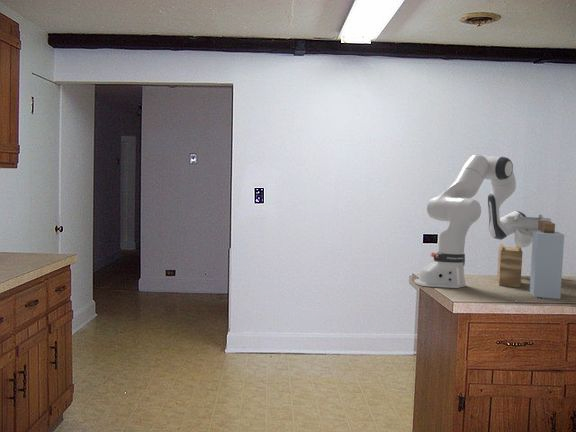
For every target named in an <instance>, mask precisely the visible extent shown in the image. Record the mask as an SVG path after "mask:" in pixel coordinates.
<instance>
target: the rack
mask: <svg viewBox="0 0 576 432" xmlns="http://www.w3.org/2000/svg"><path fill="white" fill-rule="evenodd" d="M522 248H523V247H520V246H519V245H516V244H515V247H512V246H511V247H509V246H505V245H504V244H503V243H500V244H499V246H498V259H497V261H498V262H497V275H496V276H497V278H496V280H497V284H498V286H499V287H509V288H510V287H511V288H512V287H513V288H521V284H522V270H523V269H522V267H523V254H524V253H523V250H522Z"/></svg>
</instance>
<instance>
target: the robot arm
mask: <svg viewBox="0 0 576 432" xmlns="http://www.w3.org/2000/svg"><path fill="white" fill-rule="evenodd" d="M484 180H490V183H491V188H490V192H489V194H488V196H487V209H488V221H489V222H488V230H489V234H490V235H491V237H492V238H493V239H496V240H500V241H501V240H503V239H505V238H507V237H508V236H510V235H512V234H514V244H515V246H516V245H519V246H520V247H521V248H527V247H529V246H530V245H532V239H533V231H540V230H538V223H539V221H550V222H552V218H551V217H544V216H543V214H538V217H536V216H534V217H533V216H527V215H526V214H525V213H523V212H522V211H519V210H514V211H512V212H510V213H507V214H506V215H503V216H502V217H501V216H500V208H501V206H502V204H503V203H504V202H505V201H506V200H507V199H508V198H510V197H511V196H512V195H513V194H514V192H515V191H516V189H517V180H516V177H515V173H514V165H513V162H512V160H511V159H510V158H509V157H505V156H497V155H489V154H488V155H487V154H486V155H484V154H483V155H482V154H473V155H471V156H470V157H469V158H467V160H466V161H465V163H464V164H463V165H462V167H461V169H460V170H459V172H458V174H457V176H456V177H455V179H454V180H453V182H452V184H451V185H450V186H449V187H448V188H446V189H445V190H444V191H443V192H441V193H440V194H438V195H437V196H434V197H432V198H431V199H430V200H429V201H428V203H427V204H426V205H427V206H426V211H427V214H428V216H429V218H432V219H434V220H437V221H439V222H449V225H448V227H447V229H446V230H443V231H442V232H441V233H439V237H438V251H437V252H431V253H430V257H432V258H433V260H432V261H431V262H430V263H428V264H427V265H425V266H424V267H422V268H421V270H420V272H419V277H418V278H415V279H414V281H413V282H414V284H415V285H418V286H421V287H422V286H423V287H431V288H432V287H433V288H447V289H448V288H451V289H460V288H464V287H466V286H467V284H466V279H465V262H466V253H465V245H466V237H467V234H468V231H469V230H470V227H471V226H473V224H474V223H476V222H477V221H478V220H479V219H480V217H481V215H482V207H481V204H480V202H479V201H477V200H475V199H472V198H474V197H475V196H476V195H477V193H478V192H479V190H480V187H481V186H482V184H483V183H484Z"/></svg>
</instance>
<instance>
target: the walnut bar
mask: <svg viewBox="0 0 576 432" xmlns="http://www.w3.org/2000/svg"><path fill="white" fill-rule="evenodd" d="M538 230H540V231H541V232H543V233H554V234H555V232H556V231H555V230H556V223H554V222H552V221H551V222H550V221H539V223H538Z"/></svg>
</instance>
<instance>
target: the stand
mask: <svg viewBox="0 0 576 432" xmlns="http://www.w3.org/2000/svg"><path fill="white" fill-rule="evenodd" d="M564 245H565V234H563V233H562V232H560V231H555V234H554V233H543V232H541V231H533V239H532V243H531V257H530V260H531V261H530V273H529V275H530V276H529V290H528V291H529V292H530V293H531V295H532V296H533V298H544V299H555V300H561V296H562V295H561V294H562V291H561V290H562V278H563V277H562V275H563V261H564V247H565V246H564Z"/></svg>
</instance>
